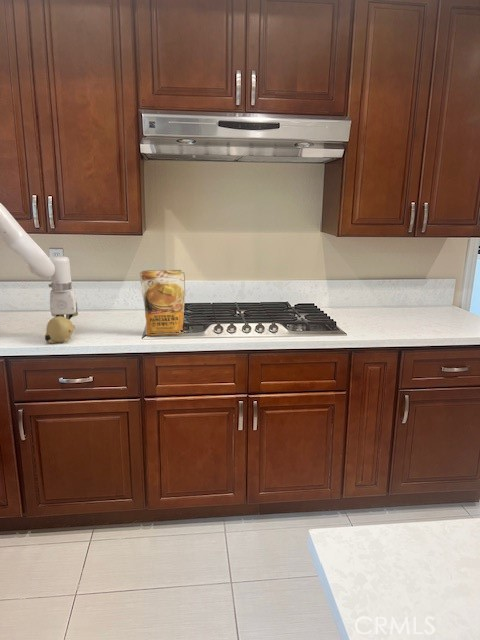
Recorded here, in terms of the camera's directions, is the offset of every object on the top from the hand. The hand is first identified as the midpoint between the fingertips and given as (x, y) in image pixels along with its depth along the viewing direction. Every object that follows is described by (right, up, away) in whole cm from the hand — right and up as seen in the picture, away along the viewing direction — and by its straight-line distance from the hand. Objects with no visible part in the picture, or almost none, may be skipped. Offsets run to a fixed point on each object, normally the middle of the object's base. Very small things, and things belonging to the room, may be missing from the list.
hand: (66, 329), depth 196 cm
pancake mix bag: (+40, -2, +8) cm, 41 cm away
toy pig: (0, -5, -5) cm, 8 cm away
